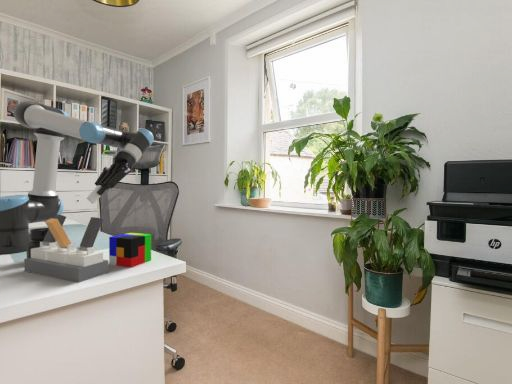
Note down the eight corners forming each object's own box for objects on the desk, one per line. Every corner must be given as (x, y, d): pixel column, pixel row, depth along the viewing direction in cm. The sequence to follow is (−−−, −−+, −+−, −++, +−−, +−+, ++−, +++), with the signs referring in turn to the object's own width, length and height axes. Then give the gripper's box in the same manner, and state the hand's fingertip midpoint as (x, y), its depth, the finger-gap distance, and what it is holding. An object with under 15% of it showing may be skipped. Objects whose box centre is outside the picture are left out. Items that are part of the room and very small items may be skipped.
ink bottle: (39, 266, 98) (39, 231, 98) (19, 264, 100) (18, 230, 100) (63, 258, 108) (63, 227, 108) (44, 257, 110) (44, 226, 109)
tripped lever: (66, 245, 94) (50, 218, 89) (73, 246, 93) (57, 218, 88) (61, 249, 92) (44, 221, 87) (67, 250, 91) (51, 222, 86)
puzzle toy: (109, 264, 101) (109, 237, 101) (130, 258, 110) (130, 232, 110) (131, 267, 98) (131, 239, 97) (151, 260, 107) (151, 234, 107)
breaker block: (56, 263, 102) (55, 213, 101) (108, 272, 92) (108, 217, 92) (24, 271, 92) (23, 216, 92) (78, 282, 83) (78, 221, 82)
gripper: (145, 163, 114) (110, 208, 100) (121, 164, 120) (85, 207, 105) (134, 149, 109) (95, 194, 95) (110, 150, 115) (70, 193, 100)
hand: (90, 200), depth 100 cm, fingers closed
